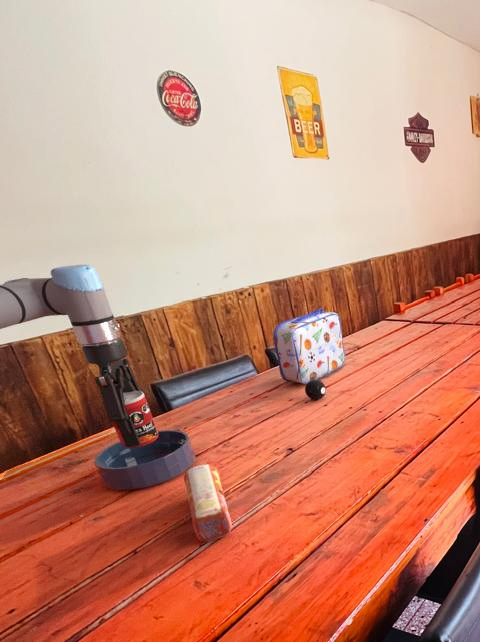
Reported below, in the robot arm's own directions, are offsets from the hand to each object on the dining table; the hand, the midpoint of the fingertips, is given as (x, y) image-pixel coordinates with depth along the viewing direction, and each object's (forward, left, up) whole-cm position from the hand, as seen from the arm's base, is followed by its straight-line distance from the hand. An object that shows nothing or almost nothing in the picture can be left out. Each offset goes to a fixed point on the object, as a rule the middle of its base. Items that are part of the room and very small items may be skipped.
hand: (139, 437), depth 118 cm
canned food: (0, 0, -1) cm, 1 cm away
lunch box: (+8, +67, -9) cm, 68 cm away
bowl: (0, 0, -9) cm, 9 cm away
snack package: (+28, -14, -9) cm, 32 cm away
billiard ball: (+19, +46, -9) cm, 51 cm away
